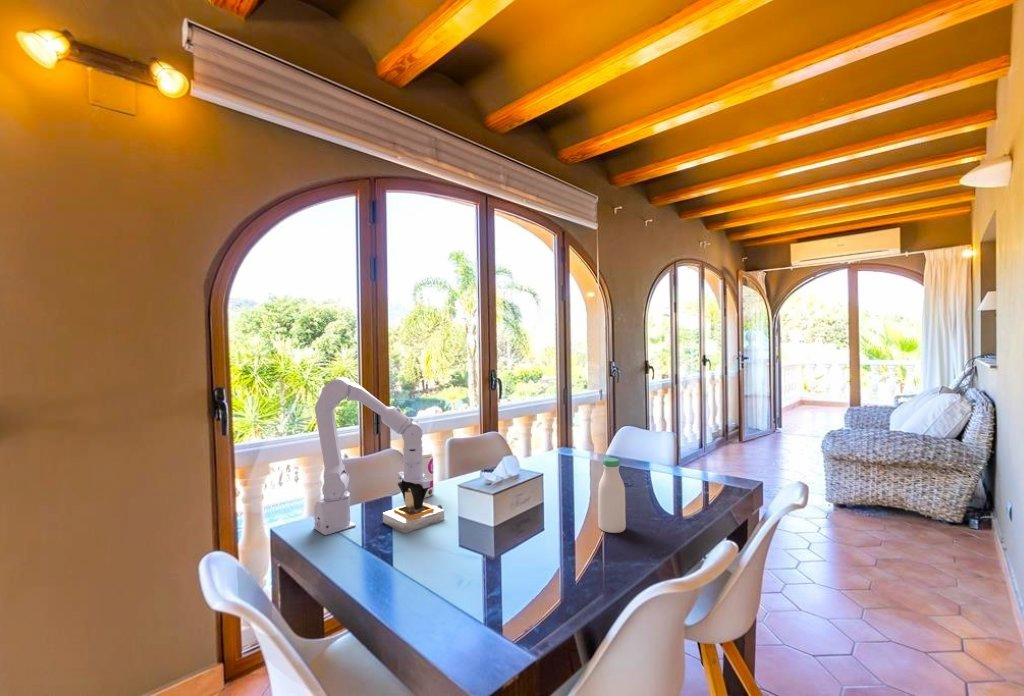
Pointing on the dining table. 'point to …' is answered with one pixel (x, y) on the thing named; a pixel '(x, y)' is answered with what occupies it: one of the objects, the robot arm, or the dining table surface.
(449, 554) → the dining table surface
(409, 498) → the spout can
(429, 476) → the supplement can
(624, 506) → the milk bottle
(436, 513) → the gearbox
